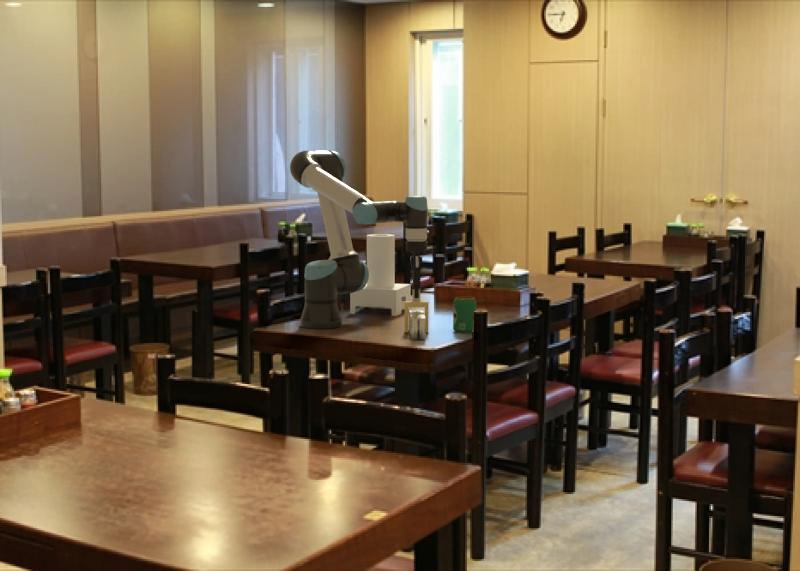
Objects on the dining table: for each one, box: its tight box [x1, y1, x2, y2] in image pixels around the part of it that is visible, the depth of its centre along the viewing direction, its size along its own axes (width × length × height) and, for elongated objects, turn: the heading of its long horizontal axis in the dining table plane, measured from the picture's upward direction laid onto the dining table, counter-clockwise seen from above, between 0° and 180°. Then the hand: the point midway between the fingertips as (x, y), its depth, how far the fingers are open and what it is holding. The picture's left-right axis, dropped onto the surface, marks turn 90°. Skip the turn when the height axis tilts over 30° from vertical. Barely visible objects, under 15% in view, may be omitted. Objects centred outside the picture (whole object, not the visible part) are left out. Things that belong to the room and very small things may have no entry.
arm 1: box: [408, 310, 419, 340], centre depth 394 cm, size 18×2×7 cm, turn 2°
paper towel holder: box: [349, 233, 412, 317], centre depth 448 cm, size 19×19×30 cm
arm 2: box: [417, 310, 427, 341], centre depth 394 cm, size 18×2×7 cm, turn 1°
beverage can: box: [452, 296, 477, 334], centre depth 402 cm, size 8×8×12 cm
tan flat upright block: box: [404, 300, 429, 333], centre depth 401 cm, size 2×8×11 cm, turn 92°
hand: (416, 307), depth 402 cm, fingers closed
